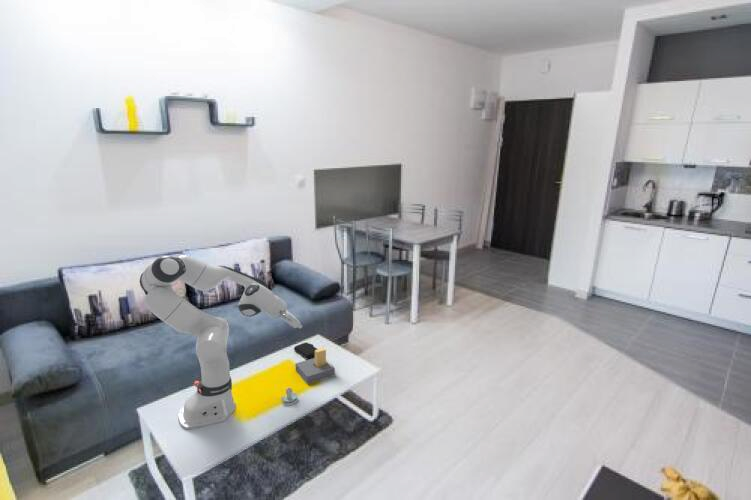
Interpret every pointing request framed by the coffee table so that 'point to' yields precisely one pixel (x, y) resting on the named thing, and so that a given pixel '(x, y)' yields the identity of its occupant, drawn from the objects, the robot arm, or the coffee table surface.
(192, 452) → the coffee table surface
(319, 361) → the tall tan cardboard box
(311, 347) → the carrying case or bag
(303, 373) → the grey slotted base
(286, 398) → the pacifier
